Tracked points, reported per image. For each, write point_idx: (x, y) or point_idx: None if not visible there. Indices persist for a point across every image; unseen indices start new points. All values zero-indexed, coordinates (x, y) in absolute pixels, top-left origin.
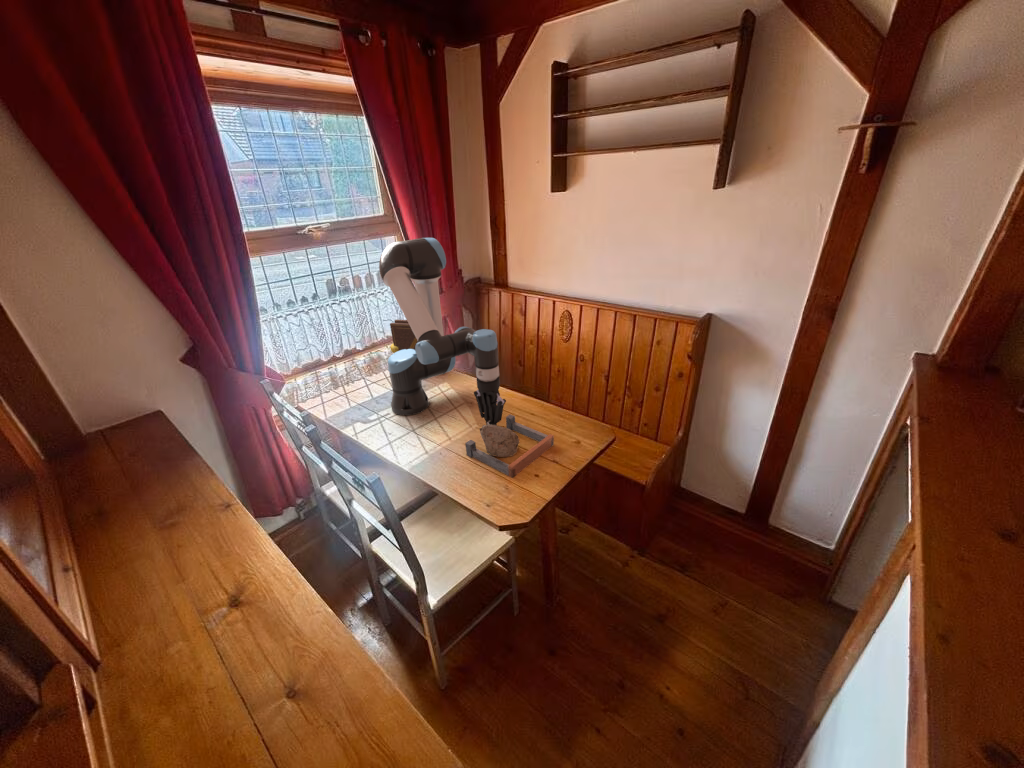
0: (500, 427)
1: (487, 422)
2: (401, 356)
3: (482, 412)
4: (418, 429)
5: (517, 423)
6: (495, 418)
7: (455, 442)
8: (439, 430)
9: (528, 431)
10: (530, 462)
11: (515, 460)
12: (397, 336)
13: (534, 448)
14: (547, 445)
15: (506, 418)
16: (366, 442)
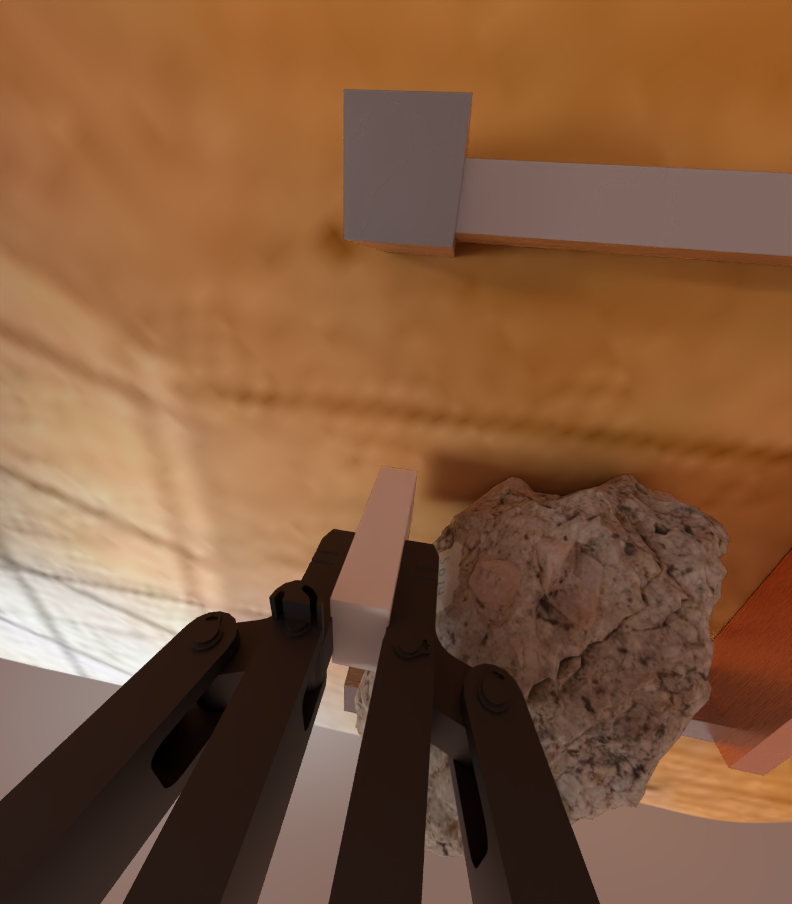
0: (611, 808)
1: (342, 664)
2: None
3: (187, 776)
4: (13, 549)
5: (537, 183)
6: (486, 850)
7: (234, 566)
8: (75, 518)
9: (766, 255)
10: None
11: (773, 733)
12: None
13: None
14: None
15: (362, 242)
16: (19, 661)
